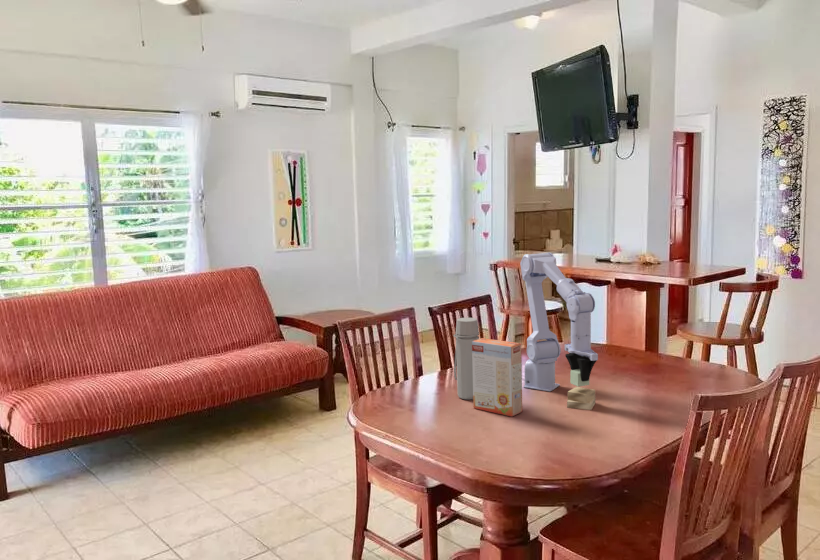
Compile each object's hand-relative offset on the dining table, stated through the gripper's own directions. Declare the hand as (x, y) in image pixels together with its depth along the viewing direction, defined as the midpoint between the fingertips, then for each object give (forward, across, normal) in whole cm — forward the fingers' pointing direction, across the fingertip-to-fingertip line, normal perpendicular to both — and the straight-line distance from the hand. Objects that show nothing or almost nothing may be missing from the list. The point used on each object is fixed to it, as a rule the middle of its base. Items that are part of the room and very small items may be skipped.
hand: (580, 378), depth 201 cm
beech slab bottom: (+9, 0, 0) cm, 9 cm away
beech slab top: (+6, 0, 0) cm, 6 cm away
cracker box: (+8, -6, -25) cm, 27 cm away
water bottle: (+8, -22, -28) cm, 36 cm away
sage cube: (+2, 0, 0) cm, 2 cm away
